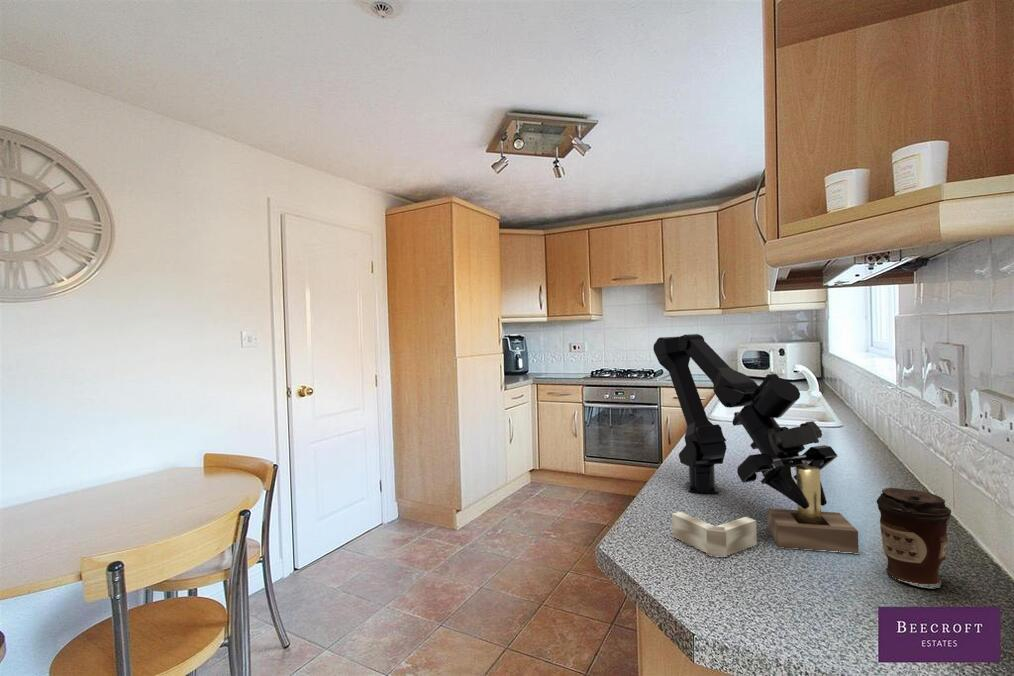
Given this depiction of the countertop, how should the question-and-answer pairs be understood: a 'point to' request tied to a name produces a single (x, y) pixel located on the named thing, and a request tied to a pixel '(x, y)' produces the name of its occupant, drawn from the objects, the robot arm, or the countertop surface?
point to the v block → (715, 534)
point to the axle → (809, 494)
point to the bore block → (812, 531)
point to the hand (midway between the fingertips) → (815, 506)
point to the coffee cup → (913, 534)
